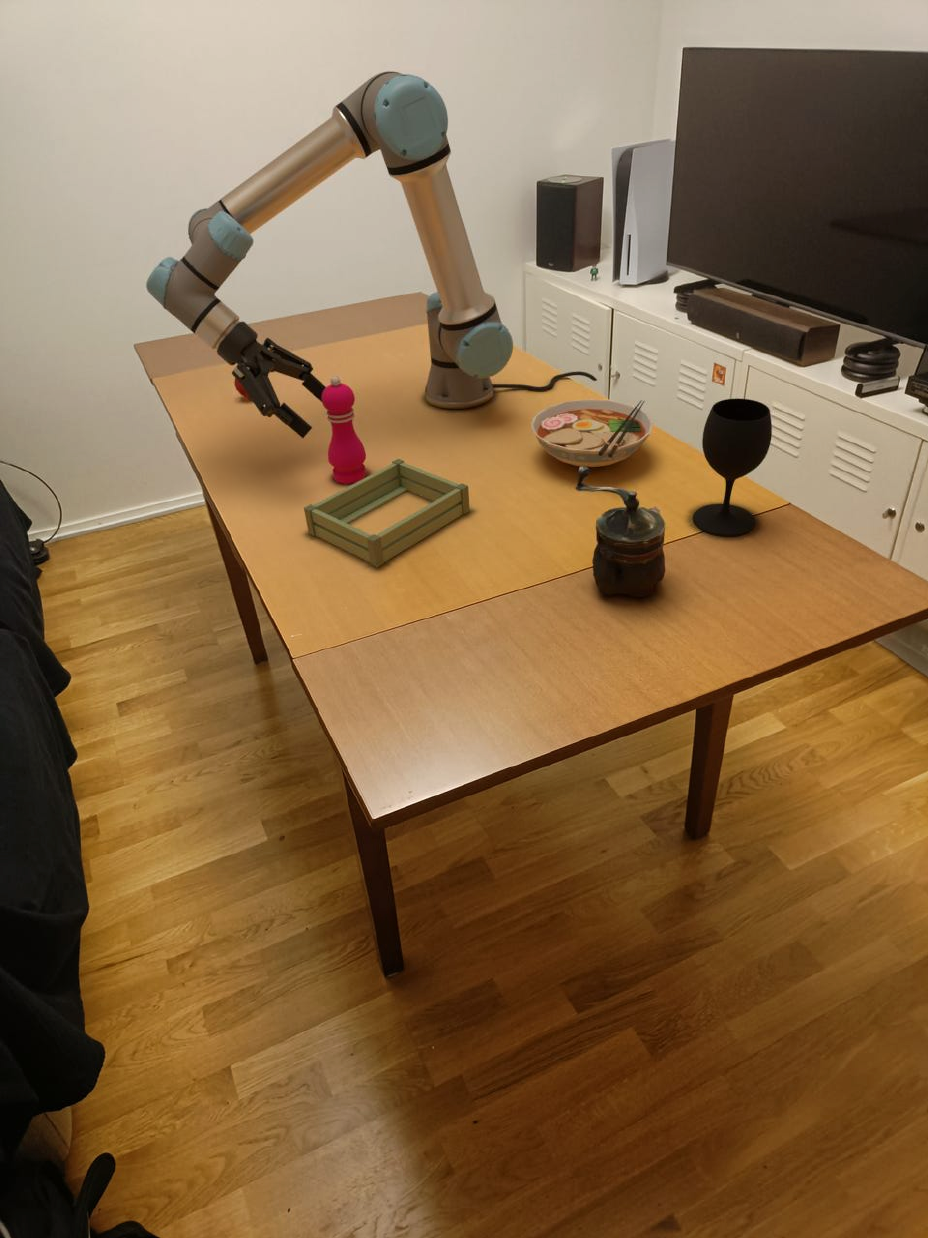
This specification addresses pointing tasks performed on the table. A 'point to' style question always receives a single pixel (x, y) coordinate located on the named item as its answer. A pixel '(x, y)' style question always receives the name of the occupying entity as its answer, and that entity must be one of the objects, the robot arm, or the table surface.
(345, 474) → the pepper mill
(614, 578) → the coffee grinder
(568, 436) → the ramen bowl
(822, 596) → the table surface
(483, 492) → the table surface
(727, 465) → the wine glass
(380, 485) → the crate
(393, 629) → the table surface
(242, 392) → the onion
